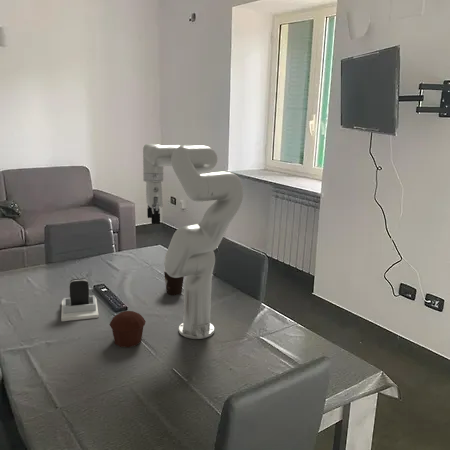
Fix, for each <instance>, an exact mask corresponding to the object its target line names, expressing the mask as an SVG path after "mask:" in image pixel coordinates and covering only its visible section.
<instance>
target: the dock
mask: <svg viewBox="0 0 450 450" xmlns="http://www.w3.org/2000/svg"><path fill="white" fill-rule="evenodd" d="M98 309H99V308H98V300H97V297H96V296H95V295H94V294H93V295H89V304H85V305H75V306H71V301H70V297H63V299H62V300H61V317H60V319H61V320H60V321H61V322H67V321H77V320H89V319H97V318H99V316H100V314H99V310H98Z"/></svg>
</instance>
